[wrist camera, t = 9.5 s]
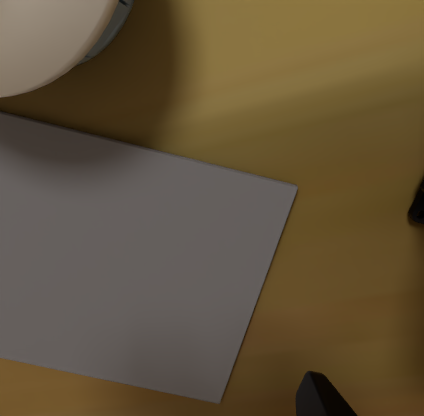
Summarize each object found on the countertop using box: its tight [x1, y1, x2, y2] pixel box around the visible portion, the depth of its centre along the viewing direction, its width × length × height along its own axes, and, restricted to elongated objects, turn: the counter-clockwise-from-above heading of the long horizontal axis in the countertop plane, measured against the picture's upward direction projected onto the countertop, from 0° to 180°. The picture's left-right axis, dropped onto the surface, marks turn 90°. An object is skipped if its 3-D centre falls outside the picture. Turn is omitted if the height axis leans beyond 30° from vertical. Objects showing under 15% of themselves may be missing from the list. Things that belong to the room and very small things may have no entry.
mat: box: [0, 111, 298, 404], centre depth 22 cm, size 18×18×1 cm
